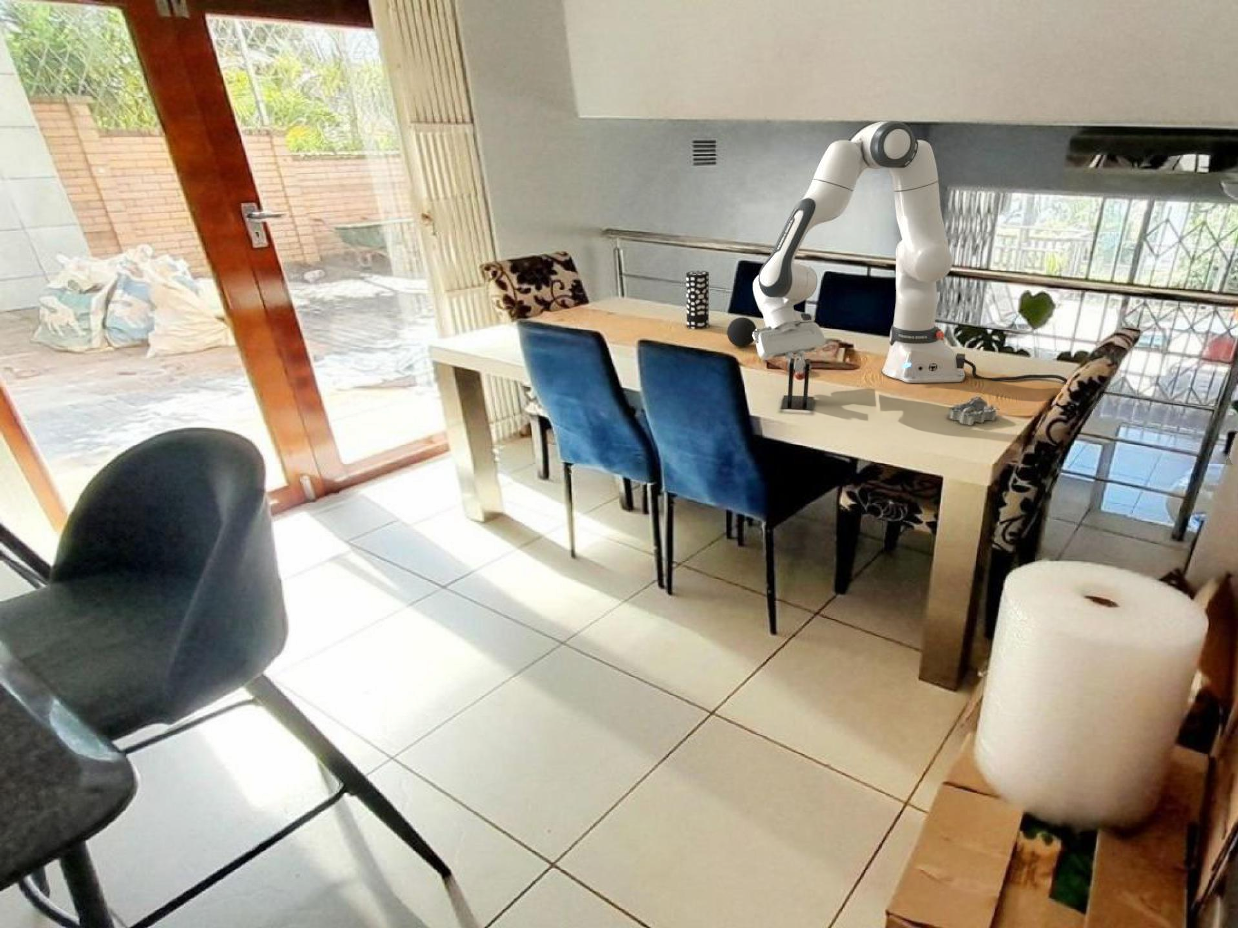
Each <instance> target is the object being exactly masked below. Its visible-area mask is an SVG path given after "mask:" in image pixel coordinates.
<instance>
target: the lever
mask: <svg viewBox="0 0 1238 928" xmlns="http://www.w3.org/2000/svg"><path fill="white" fill-rule="evenodd" d="M794 378H795V379H796V380H798V381H803V380H804V378H805V370H804V362H795V374H794Z"/></svg>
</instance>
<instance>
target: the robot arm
mask: <svg viewBox="0 0 1238 928" xmlns="http://www.w3.org/2000/svg"><path fill="white" fill-rule="evenodd" d="M884 168H886V169H888V170H889V172H890V175H891V178H892V187H893V189H892V190H893V198H894V207H895V217H896V222H897V225H898V228H899V232H900V236H901V240H900V241H899V242H898V244H897V245H896V249H895V290H896V291H895V308H894V317H893V323H892V324H891V328H890V332H889V340H888V341H889V350H888V352H887V356H886V359H885V363H884V365H883V367H882V369H881V372H882V374H883V375H885V376H887V377H890V378H892V379H896V380H900V381H902V382H905V383H907V384H919V383H921V384H923V383H924V384H925V383H928V384H931V383H960V382H963V381H964V380H965V377H966V374H965V371H964V369H965V364H967V365H968V366H970V367H971V370H972V371H971V375H972V376H973V377H974V378H975V379H978V380H986V381H992V382H993V381H994V382H995V381H996V382H998V381H1018V380H1024V379H1025V380H1026V379H1057V380H1060V381H1062V382H1064V383H1065V384H1066V382H1067V380H1068V379H1067V378H1066V377H1065V376H1062V375H1058V374H1024V375H1018V376H1017V375H1016V376H996V377H983V376H980V375H979V374H977V366H976V365H975V363H973V362H971V360H968V359H966V353H960V352H959V353H958V352H957V353H956V352H955V351H954V350H953V349H952V348H951V347H950V346H948V345H947V344H946V343H945V342H943V341H942V340H943V338H944V337H945V332H944V331H943V330H942V329H941V328H939V327H938V326H936V325H935V323H936V317H937V311H938V303H939V296H938V289H937V282H939V281H941V280H942V279H944V278H945V277H946V276H947V275H948V274H949V273H950V271H951V269H952V266H953V256H952V254H951V253H952V252H951V250H950V246H949V241H948V235H947V230H946V226H945V222H944V218H943V215H942V213H943V212H942V208H941V197H940V184H939V174H938V168H937V163H936V158H935V154H934V151H933V148H932V145H931V144H930V143H929V142H928V141H926V140H922V139H917V138H916V137H915V135H914V133H913V131H912V130H911V128H910V127H909V126H908V125H907V124H905V123H904V122H901V121H897V120H890V121H888V120H887V121H886V120H885V121H878V122H875V123H872V124H867V125H865V126H863V127H861V128H859V129H858V130H857V131H856V132H854V134H853V135H852V136H851V137H850V138H849V139H848V140H847V139H839V140H836V141H834V142H832V143H830V145H829V146H828V147H827V149H826V150H825V152H824V154H823V156H822V158H821V160H820V162H819V164H818V166H817V168H816V170H815V173H814V175H813V178H812V181H811V183H810V186H809V188H808V189H807V191H806V193H805V194H804V196H803V198H802V199H801V200H800V201H799V202H798V203H797V204H796V205H795V206H794V207H793V210H792V211H791V212H790V215H789V217H788V219H787V221H786V223H785V225H784V227H783V229H782V231H781V233H780V235H779V237H778V239H777V241H776V243H775V245H774V248H773V249H772V251H771V253H770V254H769V256H768V257H767V258H766V260H765V262H764V263H763V264H762V266H761V268H760V270H759V272H758V275H757V276H756V277H755V278H754V280H753V282H752V291H753V297H754V299H755V302H756V306H757V307H758V310H759V312H761V314H762V316H763V317H762V318H763V322H764V325H765V326H763V327H756V329H755V331H753V334H752V336H753V338H754V341H753V342H755V347H756V352H757V354H758V355H757V356H758V357H759V359H760V360H762V361H765V360H768V359H773V358H779V357H786V360H787V361H789V362H790V360H791V358H794V357H793V355H794V356H797V357H800V358H799V360H796V359H795V361H794V369H795V362H804V367H805V364H806V363H805V361H804V360H805V357H806V354H807V353H813V352H818V351H819V352H820V351H821V350H823V348H824V347H825V346H826V342H827V341H826V337H825V335H824V333H823V331H822V328H821V327H820V326H819V324H818V323H816V322H815V319H816V317H815V316H814V314H813V313H809V312H808V313H807V312H802V311H798V310H795V309H794V306H795V305H798V304H801V303H803V302H804V301H806V300H808V299H809V298H811V297H812V296H813V295H814V294H815V292H816V289H817V286H818V277H817V273H816V271H815V270H814V269H813V268H812V267H809V266H806V265H803V264H800V263H794V261H795V258H796V256H797V254H798V252H799V250H800V249H801V246H802V244H803V242H804V240H805V237H806V236H807V234H808V233H809V232H810V231H811V229H813V228H814V227H815V226H818V225H820V224H823V223H827V222H831V221H833V220H835V219H837V218H839V217H840V216H841V215H843V213H844V212H845V210H846V209H847V207H848V205H849V203H850V200H851V198H852V197H853V193H854V191H855V188H856V185H857V182H858V179H859V178H860V176H861V175H862V173H863V172H864V171H865V170H866V169H873V170H879V169H884Z"/></svg>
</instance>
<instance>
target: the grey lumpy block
mask: <svg viewBox="0 0 1238 928" xmlns="http://www.w3.org/2000/svg"><path fill="white" fill-rule="evenodd" d="M947 409H949V411H950V413H949V420H954V421H959V423H960V424H962V425H967V426H973V425H974V423H980V424H982V423H984V422H985V421H995V419H996V414H997V412H996V411H997V410H1000V408H999V407H998V406H996V407H995V406H994V405H993V404H991V405H990V406H989V405H988V402H987V401H986V399H983V398H982V396H981V395H980V396H975V397H972V398H970V399H969V401H964V402H963V403H960V404H956V405H953V406H950V407H947Z"/></svg>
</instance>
